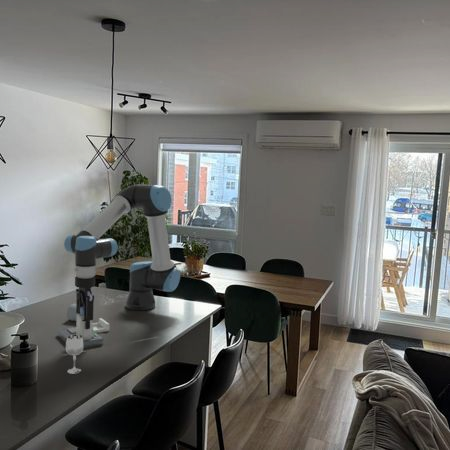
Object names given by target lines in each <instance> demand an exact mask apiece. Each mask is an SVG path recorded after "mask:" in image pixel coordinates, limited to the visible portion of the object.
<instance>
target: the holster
mask: <svg viewBox="0 0 450 450" xmlns="http://www.w3.org/2000/svg"><path fill="white" fill-rule="evenodd" d="M92 330H93V331H95V332H96V333H97V334H98V333H104V332H109V331H110V323H109V322H107V320H105V319H103V318H102V317H99V318H98V322H92Z"/></svg>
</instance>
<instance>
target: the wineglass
mask: <svg viewBox="0 0 450 450" xmlns="http://www.w3.org/2000/svg"><path fill="white" fill-rule="evenodd" d="M83 347H84V344H83V338H82V336H81V335H70V336H68V338H67V341H66V343H65V351H66V353H67V354H68V355H69V356H72V361H73V367H72V368H69V369H67V373H68V374H70V375H71V374H72V375H73V374H74V375H75V374H79V373H81V372H82V369H81V368H78V367H76V360H77V356H78V355H80V354H82V352H83V351H84V348H83Z"/></svg>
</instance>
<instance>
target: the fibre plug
mask: <svg viewBox="0 0 450 450" xmlns="http://www.w3.org/2000/svg"><path fill="white" fill-rule="evenodd" d="M82 320H84V310H83V307H80V314H77V321H76V323H75V324H76V326H75V327H76V335H81V336H82V338H83V340H89V339H92V323H93V320H91V324H90V336H89V337H83V321H82Z"/></svg>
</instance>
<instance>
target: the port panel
mask: <svg viewBox="0 0 450 450" xmlns="http://www.w3.org/2000/svg"><path fill="white" fill-rule="evenodd" d="M70 335H76V326H74V327H73V326H72V327H67V328H66V327H65V328H60V329H57V336H58V337H59V338H60V339H61V340H62V341H63V343H65V344H66V341H67V338H68V336H70ZM83 344H84V347H83V349H86V348H90V347H97V346H102V345H104V338H103V336H101V335H100V334H98V333H96V332H95V331H93V330H92V339H89V340H83Z"/></svg>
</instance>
